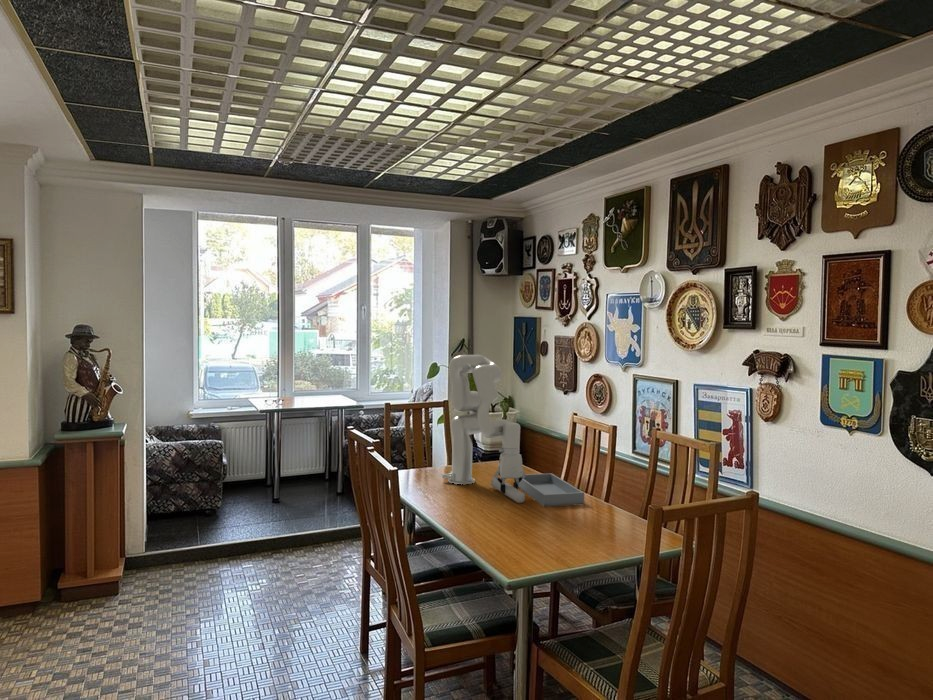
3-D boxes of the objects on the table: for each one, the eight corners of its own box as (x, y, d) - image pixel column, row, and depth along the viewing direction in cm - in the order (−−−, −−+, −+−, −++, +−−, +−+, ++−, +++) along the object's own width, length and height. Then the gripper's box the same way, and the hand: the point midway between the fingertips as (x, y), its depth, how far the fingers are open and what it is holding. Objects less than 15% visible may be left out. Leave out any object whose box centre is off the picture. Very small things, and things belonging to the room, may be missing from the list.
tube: (529, 494, 260) (502, 478, 283) (518, 491, 258) (493, 475, 281) (525, 506, 260) (499, 489, 283) (514, 503, 257) (489, 486, 280)
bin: (544, 506, 256) (544, 494, 256) (515, 485, 289) (515, 474, 288) (583, 504, 261) (584, 492, 260) (551, 483, 293) (551, 473, 293)
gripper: (494, 453, 263) (493, 496, 264) (532, 452, 268) (530, 494, 269) (489, 449, 270) (487, 491, 271) (525, 448, 275) (524, 489, 276)
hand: (509, 492), depth 270 cm, fingers closed on tube, 4 cm apart
